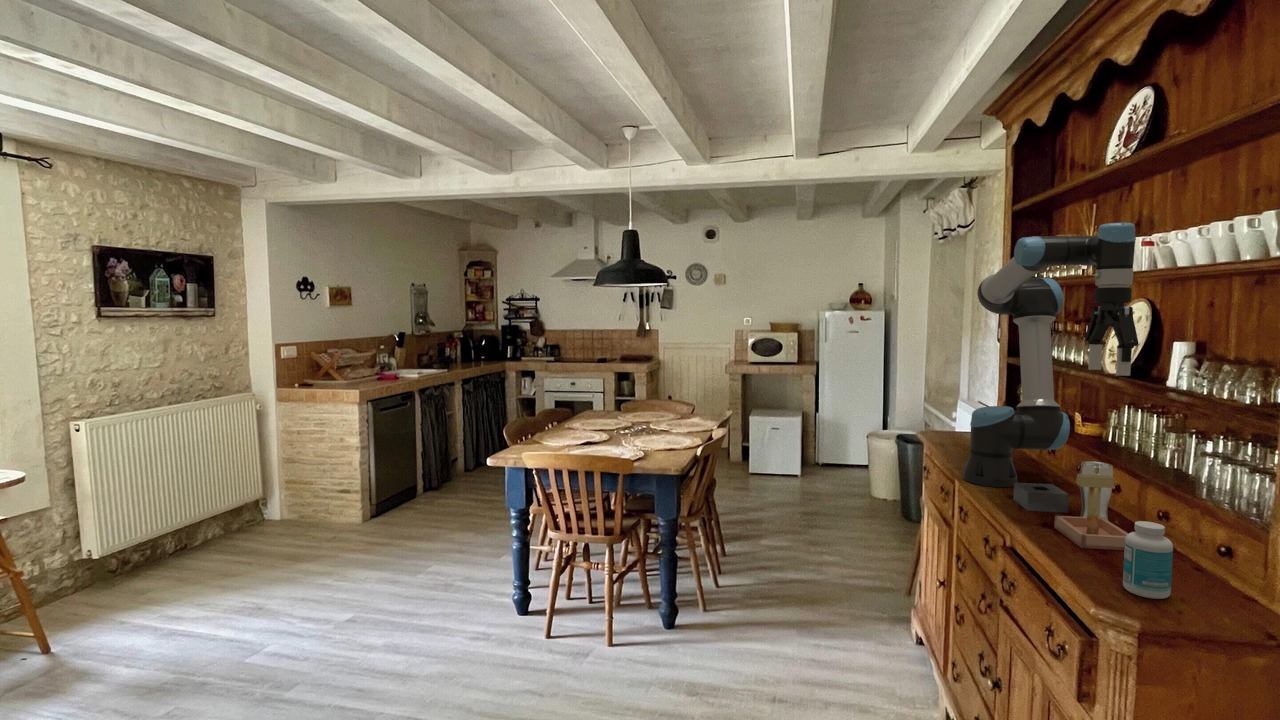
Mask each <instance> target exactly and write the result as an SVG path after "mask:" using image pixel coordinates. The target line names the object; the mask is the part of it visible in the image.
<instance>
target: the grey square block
mask: <svg viewBox="0 0 1280 720" xmlns="http://www.w3.org/2000/svg"><path fill="white" fill-rule="evenodd" d="M1012 497H1013V501H1014V502H1015V503H1017V504H1018V505H1019V506H1021V507H1022V508H1023V509H1024V510H1026V511H1028V512H1043V513H1044V512H1046V513H1047V512H1048V513H1049V512H1050V513H1066V514H1067V513H1069V497H1070V494H1069V493H1067V492H1066V491H1064V490H1063V489H1061V488H1059V487H1058V486H1057V485H1055V484H1053V483H1034V482H1033V483H1032V482H1031V483H1030V482H1017V483H1014V486H1013V496H1012Z"/></svg>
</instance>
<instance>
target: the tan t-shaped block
mask: <svg viewBox="0 0 1280 720" xmlns="http://www.w3.org/2000/svg"><path fill="white" fill-rule="evenodd" d="M1115 479H1116V478H1115V477H1114V476H1113V477H1112V476H1110V475H1086V474H1080V473H1078V474H1077V473H1076V485H1078V486H1079V487H1080V486H1081V487H1089V493H1088V511H1087V529H1086V534H1094V535H1098V534H1099V517H1100V499H1101V488H1112V489H1115Z"/></svg>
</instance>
